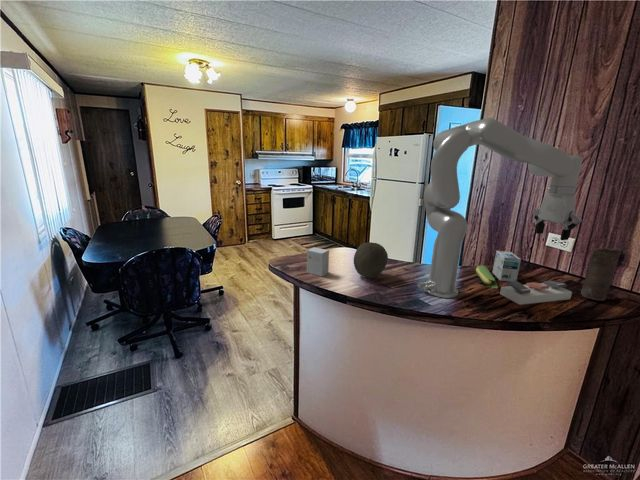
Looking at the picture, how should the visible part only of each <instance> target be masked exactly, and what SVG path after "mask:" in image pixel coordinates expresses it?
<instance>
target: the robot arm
mask: <svg viewBox="0 0 640 480" xmlns="http://www.w3.org/2000/svg"><path fill="white" fill-rule="evenodd" d="M432 144H433V148H434V150H435V152H434V154H433V157H432V159H431V163H430V175H431V176H430V178H431V179H430V180H431V182H429V183H428V184H427V185H426V187H425V189H424V193H423V200H424V201H423V202H424V205H425V206H424V207H425V212H426V219H427V223H428V226H429V227H430V228H431V229H432V230H433V231H435V232H437V235H436V237H435V240H434V244H433V249H432V255H431V256H432V257H431V264H430V268H429V269H430V270H429V277H428V278H426V280H425V281H419V282H417V285H416V286H417V287H418V288H423V290H424V291H425V293H427V294H429V295H432V296H434V297H437V298H443V299H451V298H452V299H453V298H456V297H458V295H459V290H458V288H456V283H457V282H456V281H457V276H458V269H459V262H460V256H461V250H462V246H463V241H464V238H465V237H466V233H467V230H468V221H467V219H466V217H464V216H463V214H461V213H459V212H458V211H455V210H453V208H455V207H456V206H457V205H458V204H459V202H460V200H461V199H460V198H461V195H460V194H461V192H460V184H459V179H458V163H459V160H460V159H461V157H462V156H463V154H464V153H465V152H466V151H467V150H468V149H469V147H472V146H473V147H474V146H478V145H480V146H481V145H482V146H484V147H485V148H487V149H489V150H491V151H492V152H495V153H496V154H497V155H500V156H502V158H505V159H507V160H511V161H515V162H519V163H525V164H528V166H527V169H528V170H529V173H531V174H532V175H534V176H537V177H549V178H551V179H550V184H549V186H547V187H546V190H547V191H548V192H547V193H545V195H544V197H543V199H542V202H541V204H540V208H537V209H534V210H533V215H534V217H533V218H534V219H535V223H536V228H535V234H539V235H540V234H543V233H544V230H545V227H546V223H545V222H551V223H556V224H562V226H563V227H562V230H561V235H560V238H559V240H560V241H568V240H569V239H570V236H571V232H572V230H574V229H575V228H576V227H578V225H580V223H582V221H583V220H582V218H581V217H580V216H578V215H577V214H575V211H576V202H577V201H576V200H577V198H576V197H577V196H575V193H576V189H577V184H578V182H579V181H578V180H579V176H580V172H581V168H582V164H583V158H582V157H581V156H579V155H569V154H568V153H566V152H564V151H562V150H561V149H559V148H557V147H555V146H553V145H551V144H549V143H545V142H543V141H539V140H536V139H535V138H531V137H528V136H526V135H523V134H521V133H519V132H518V131H516V130H514V129H513V128H511V127H510V126H508V125H507V124H504V123H502V122H501V121H499V120H497V119H494V118H484V119H478V120H474V121H471V122H467V123H465V124H462V125H459V126H454V127H452V128H449V129H445V130H442V131H440V132H438V133H437V134H436V136H435V138H434V140H433V143H432ZM563 228H564V229H563Z"/></svg>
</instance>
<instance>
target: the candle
mask: <svg viewBox="0 0 640 480" xmlns="http://www.w3.org/2000/svg"><path fill="white" fill-rule="evenodd" d="M620 255H621V251H620V250H618V249H616V248H615V249H614V248H605V247H604V248H601V247H596V248H594V249H593V252H592V256H591V259H590V262H589V266H588V270H587V272H586V275H585V278H584V282H583V284H582V287H581V291H580V294H581V296H582V297H583V298H585V299H589V300H594V301H606V300H607V296H608V293H609V291H610V287H611V283H612V280H613V277H614V274H615V270H616V268H617V265H618V261H619V259H620Z"/></svg>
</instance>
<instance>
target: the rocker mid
mask: <svg viewBox="0 0 640 480" xmlns="http://www.w3.org/2000/svg"><path fill="white" fill-rule="evenodd" d="M525 285H526V286H530V287H533V288H537V289H549V286H547V285H543V284H539V283H538V282H533V281H532V282H526V283H525Z"/></svg>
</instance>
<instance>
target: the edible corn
mask: <svg viewBox="0 0 640 480" xmlns="http://www.w3.org/2000/svg"><path fill="white" fill-rule="evenodd" d="M474 271H475V274H476V275H477V277H478V278H479V277H480V278H479V279H480V281H482V282H483V284H484V285H485V286H487V287H489V288H492V290H494V289H498V288H499V287H498V283H497V280H496V278H495V277H494V276H493V275H492V273H491V271H490V270H489V269H488V267H487V266H485V265H483V264H481V265H477V266H475V268H474Z"/></svg>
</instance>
